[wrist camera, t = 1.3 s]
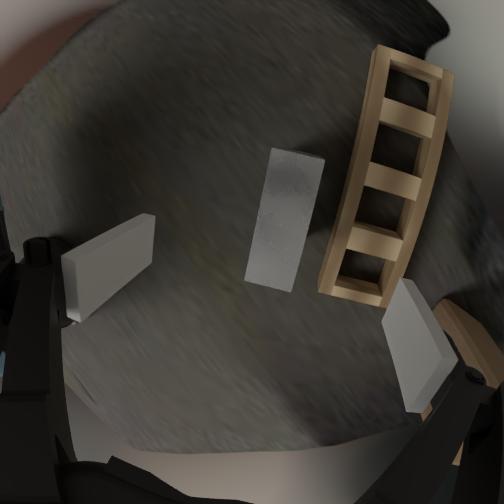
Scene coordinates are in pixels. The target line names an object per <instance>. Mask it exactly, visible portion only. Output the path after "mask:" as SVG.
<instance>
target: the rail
mask: <svg viewBox="0 0 504 504" xmlns="http://www.w3.org/2000/svg"><path fill="white" fill-rule="evenodd" d="M389 68H390V69H393V70H396V71H399V72H402V73H404V74H407V75H410V76H413V77H415V78H418V79H420V80H423V81H425V82H428V83H430V90H429V96H428V102H427V108H426V112H424V111H421V110H419V109H416V108H413V107H411V106H408V105H405V104H402V103H399V102H397V101H394V100H391V99H388V98H385V97H384V94H385V88H386V83H387V77H388V71H389ZM454 76H455V74H453V73H451V72H449V71H447V70H445V69H442V68H440V67H438V66H436V65H433V64H431V63H428V62H426V61H424V60H421V59H419V58H416V57H413V56H411V55H408V54H405V53H403V52H400V51H397V50H394V49H391V48H388V47H385V46H382V45H379V44H378V45H377V47H376V48H375V49H374V51H373V52H372V56H371V62H370V68H369V74H368V79H367V84H366V90H365V95H364V100H363V105H362V110H361V115H360V119H359V124H358V129H357V133H356V138H355V142H354V147H353V151H352V155H351V159H350V164H349V168H348V172H347V176H346V180H345V184H344V188H343V192H342V196H341V199H340V203H339V207H338V211H337V214H336V218H335V222H334V225H333V229H332V233H331V236H330V240H329V243H328V247H327V250H326V253H325V257H324V260H323V263H322V267H321V270H320V273H319V277H318V292H320V293H324V294H328V295H332V296H337V297H341V298H345V299H349V300H353V301H358V302H362V303H366V304H370V305H375V306H379V307H383V308H388V306H389V303H390V301H391V299H392V296H393V294H394V291H395V289H396V286H397V284H398V281H399V279H400V277H401V278H403V276H404V273H405V270H406V268H407V265H408V262H409V260H410V257H411V254H412V251H413V249H414V246H415V243H416V240H417V237H418V234H419V231H420V228H421V225H422V222H423V218H424V215H425V212H426V209H427V205H428V202H429V198H430V195H431V191H432V188H433V184H434V180H435V176H436V172H437V168H438V164H439V160H440V156H441V151H442V147H443V142H444V137H445V132H446V127H447V122H448V116H449V110H450V104H451V98H452V91H453V84H454ZM378 124H381V125H384V126H387V127H390V128H393V129H396V130H399V131H402V132H405V133H408V134H410V135H413V136H416V137H418V138H420V143H419V147H418V152H417V156H416V160H415V164H414V168H413V172H412V175H410V174H407V173H404V172H401V171H398V170H395V169H392V168H389V167H386V166H383V165H380V164H376V163H373V162H370V159H371V155H372V151H373V146H374V142H375V138H376V133H377V128H378ZM364 185H365V186H369V187H372V188H375V189H379V190H382V191H385V192H389V193H392V194H395V195H398V196H401V197H404V198H405V202H404V205H403V209H402V212H401V215H400V219H399V222H398V225H397V228H396V231H391V230H388V229H385V228H381V227H378V226H374V225H370V224H367V223H363V222H360V221H356V220H355V216H356V213H357V209H358V206H359V202H360V198H361V195H362V191H363V187H364ZM346 249H350V250H354V251H358V252H361V253H365V254H369V255H373V256H377V257H380V258H384V259H386V261H385V264H384V267H383V269H382V272H381V275H380V277H379V280H378V283H377V284H375V283H371V282H367V281H363V280H359V279H355V278H351V277H347V276H343V275H339V274H338V272H339V269H340V266H341V263H342V260H343V256H344V253H345V250H346Z"/></svg>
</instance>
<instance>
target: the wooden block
mask: <svg viewBox="0 0 504 504" xmlns="http://www.w3.org/2000/svg"><path fill="white" fill-rule="evenodd" d="M432 313H433V315H434V316H435V318H436V320H437V322H438V323H439V325H440V327H441V329H442V330H444V331H446V332H447V333H448V334H449V335H450V336H451V338H452V340H453V341H454V343H455V346H456V347H457V348H458V351H459V352H460V354H461V356H462V358H463V360H464V361H465V363H466V365H467V366H470V367H473V368H475V369H477V370H478V371H480V372H481V373H482V374H483V375H484V377H485V379H486V381H487V384H486V385H487V386H490V387H492V388H495V389H497V388H498V387H499V385H500V384H501V382H503V381H504V355H503V354H502V352H501V351H500V349H499V348H498V346H497V345H496V344H495V342H494V341H493V339H492V338H491V336H490V335H489V334H488V332H487V331H486V330H485V328H484V327H483V325H482V324H481V323H480V322H478V321H477V320H476V319H475V318H473V317H472V316H471V315H469V314H468V313H467V312H465V311H464V310H463V309H461V308H460V307H459V306H457V305H456V304H455V303H453V302H452V301H450V300H449V299H444V298H443V299H441V300H440V301H439V302H438V304H437V305H436V306H435V307H434V309H433V310H432ZM431 411H432V406H431V403H429V404H428V406H427V407H426V408H425V410H424V411H423V412H422V413H421V416H422V419H423V421H424V420H425V418H426V417H427V416H428V415H429V413H430V412H431ZM463 442H464V441H463ZM462 448H463V443H462V445H461V447H460V450H459V452H458V454H457V455H456V457H455V459H454V461H453V463H452V464H455V465H460V459H461V454H462Z"/></svg>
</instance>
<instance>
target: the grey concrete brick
mask: <svg viewBox="0 0 504 504" xmlns="http://www.w3.org/2000/svg"><path fill="white" fill-rule="evenodd" d="M324 163H325V160H324V159H323V158H322V157H321V156H318V155H314V154H310V153H306V152H302V151H297V150H293V149H289V148H284V147H273V148H272V149H271V154H270V159H269V164H268V169H267V173H266V178H265V183H264V188H263V193H262V197H261V202H260V207H259V212H258V217H257V222H256V226H255V231H254V236H253V241H252V246H251V251H250V255H249V260H248V265H247V270H246V275H245V280H244V281H248V282H252V283H256V284H260V285H264V286H268V287H272V288H276V289H280V290H284V291H288V292H291V291H292V287H293V283H294V280H295V276H296V273H297V269H298V265H299V262H300V258H301V254H302V251H303V247H304V243H305V239H306V236H307V232H308V228H309V224H310V220H311V216H312V212H313V208H314V204H315V200H316V196H317V192H318V188H319V184H320V180H321V176H322V172H323V167H324Z"/></svg>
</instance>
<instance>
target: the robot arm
mask: <svg viewBox="0 0 504 504" xmlns="http://www.w3.org/2000/svg"><path fill="white" fill-rule="evenodd" d="M155 217H156V216H154V215H149V214H145V213H143V214H140V215H138V216H136V217H134V218H132V219H130V220H128V221H126V222H124V223H122V224H120V225H118V226H116V227H114V228H112V229H110V230H108V231H106V232H105V233H103V234H101V235H99V236H97V237H95V238H93V239H91V240H89V241H86V242H82V243H80V244H78V245H76V246H74V248H73V247H71V246H70V245H68V244H67V243H65V242H64V241H62V240H59V239H56V238H47V237H34V238H31V239H28V240H26V241H25V242H24V243H23V249H24V257H23V259H22V260H21V261H20V262H19V263H15V256H14V253H13V252H12V251H11V249H10V244H9V240H8V235H7V230H6V224H5V218H4V207H3V206H2V200H1V195H0V377H1V376H3V381H2V392H1V394H0V504H253V503H248V502H244V501H240V500H229V499H209V498H198V497H190V496H187V495H185V494H183V493H181V492H180V491H178V490H177V489H175V488H173V487H172V486H170V485H168V484H167V483H165V482H164V481H162V480H160V479H159V478H158V477H156V476H154V475H153V474H151V473H150V472H148V471H145V470H143V469H141V468H138V467H136V466H134V465H132V464H129V463H127V462H125V461H123V460H121V459H118V458H116V457H114V456H111V458H110V460H109V461H108V463H107V464H105V463H99V462H93V461H77V458H76V455H75V452H74V448H73V444H72V438H71V432H70V426H69V420H68V413H67V405H66V397H65V388H64V377H63V363H62V344H61V328H64V327H67V326H69V325H73V324H76V323H78V322H80V323H82V322H83V321H84V320H85V319H86V318H87V317H88V316H90V315H91V314H92V313H93V312H94V311H95V310H96V309H98V308H99V307H100V306H101V305H102V304H103V303H104V302H106V301H107V300H108V299H109V298H110V297H111V296H113V295H114V294H115V293H116V292H117V291H118V290H120V289H121V288H122V287H123V286H124V285H126V284H127V283H128V282H129V281H130V280H132V279H133V278H134V277H135V276H136V275H138V274H139V273H140V272H141V271H142V270H144V269H145V268H146V267H147V266H148V265H150V264H151V263H152V254H153V240H154V228H155ZM382 325H383V328H384V331H385V335H386V338H387V341H388V345H389V348H390V351H391V355H392V358H393V362H394V365H395V369H396V373H397V376H398V380H399V384H400V388H401V392H402V396H403V400H404V404H405V408H406V412H416V413H422V412H423V411H424V410H425V408H426V407H427V406H428V404H429V403H431V406H432V411H431V412H430V413H429V415H428V416H427V417H426V418H425V420H424V421H423V422H422V423H421V425H420V426H419V427H418V428H419V429H418V430H417V431H416V433H415V434H414V435H413V437H412V438H411V440H410V441H409V442H408V443H407V445H406V446H405V447H404V448H403V450H402V451H401V452H400V454H399V455H398V456H397V457H396V458H395V460H394V461H393V462H392V463H391V464H390V465H389V467H388V468H387V469H386V470H385V471H384V472H383V474H382V475H381V476H380V477H379V478H378V479H377V480H376V481H375V482H374V483H373V485H372V486H371V487H370V488H369V489H368V490H367V491H366V492H365V493H364V494H363V495H362V496H361V497H360V498H359V499H358V500H357V501H356V502H355V503H354V504H429V502H430V501H431V499H432V498H433V496H434V494H435V493H436V491H437V489H438V488H439V486H440V485H441V483H442V481H443V479H444V478H445V476H446V474H447V472H448V471H449V469H450V467H451V465H452V463H453V461H454V459H455V457H456V455H457V454H458V452H459V450H460V447H461V445H462V443H463V448H462V454H461V459H460V465H459V470H458V474H457V479H456V483H455V487H454V492H453V496H452V499H451V503H450V504H504V381H503V382H501V384H500V385H499V387H498V388H497V389H495V388H492V387H490V386H487V385H486V384H487V381H486V379H485V377H484V375H483V374H482V373H481V372H480V371H478V370H477V369H475V368H473V367H470V366H467V365H466V363H465V361H464V360H463V358H462V356H461V354H460V352H459V351H458V348H457V347H456V346H455V343H454V341H453V340H452V338H451V336H450V335H449V334H448V333H447V332H446V331H444V330H442V329H441V327H440V325H439V323H438V322H437V320H436V318H435V316H434V315H433V313H432V311H431V310H430V308H429V306H428V304H427V303H426V301H425V300H424V298H423V296H422V295H421V293H420V291H419V290H418V288H417V287H416V285H415V283H414V282H413V280H409V279H405V278H401V277H400V279H399V281H398V284H397V286H396V289H395V291H394V294H393V296H392V299H391V301H390V303H389V306H388V308H387V310H386V313H385V315H384V317H383V319H382ZM463 441H464V442H463Z"/></svg>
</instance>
